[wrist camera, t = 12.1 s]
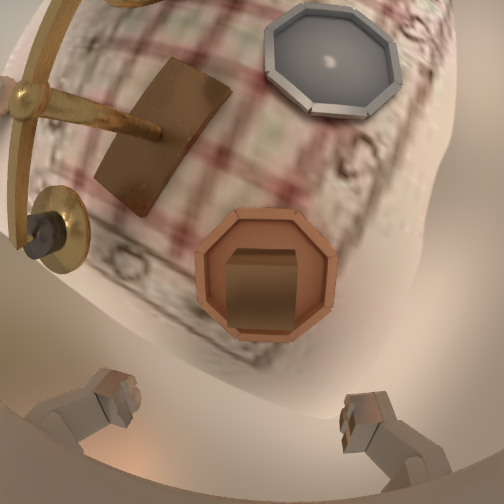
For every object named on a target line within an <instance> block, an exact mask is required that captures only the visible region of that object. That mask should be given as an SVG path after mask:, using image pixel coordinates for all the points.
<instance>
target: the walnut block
mask: <svg viewBox="0 0 504 504" xmlns="http://www.w3.org/2000/svg"><path fill="white" fill-rule="evenodd" d="M297 275H298V264H297V257H296V251H295V249H258V248H237V249H236V250H235V251H234V253H233V254H232V255H231V257H230V258H229V259H228V261H227V262H226V264H225V281H226V308H227V328H242V329H259V330H284V331H294V323H295V309H296V293H297Z"/></svg>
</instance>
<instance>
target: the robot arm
mask: <svg viewBox="0 0 504 504" xmlns="http://www.w3.org/2000/svg"><path fill="white" fill-rule="evenodd" d="M136 383H137V381H136V378H135V376H133V375H130V374H126V373H123V372H119V371H116V370H112V369H108V368H105V367H103V368H100V369H99V371H98V372H97V373H96V374H95V375H94V376H93V377H92V378H91V380H90V381H89V382H88V383H87V384H86V385H85V386H84V387H83V388H77V389H75V390H72V391H69V392H67V393H64V394H61V395H58V396H55V397H52V398H49V399H46V400H43V401H40V402H38V403H37V404H36V405H35V406H34V407H33V408H32V409H31V411H29V413H28V414H27V415H26V416H25V417H24V418H22V417H21V416H19V415H18V414H16V413H15V412H14V411H12V410H11V409H10V408H8V407H7V406H6V405H5V404H3V403H2V402H1V401H0V504H504V449H502V450H500V451H499V452H497V453H495V454H493V455H491V456H489V457H487V458H485V459H483V460H481V461H479V462H476V463H474V464H472V465H470V466H468V467H465V468H463V469H460V470H458V471H455V472H453V473H452V470H451V467H450V465H449V462H448V460H447V457H446V455H445V452H444V450H443V448H442V447H440V446H439V445H437V444H435V443H434V442H432V441H431V440H429V439H428V438H426V437H425V436H423V435H422V434H420V433H419V432H418V431H416V430H414V429H413V428H412V427H410V426H409V425H407V424H406V423H404V422H403V421H401V420H397V418H396V416H395V413H394V410H393V408H392V405H391V403H390V400H389V397H388V395H387V393H386V391H379V392H370V393H359V394H347V395H346V397H345V400H344V404H345V407H344V408H343V409H342V410H341V414H340V421H339V423H340V432H342V433H343V434H344V435H343V438H342V446H343V453H357V452H365V453H366V454H367V455H368V456H369V457H370V458H371V460H372V461H373V462H374V463H375V464H376V465H377V466H378V467H379V468H380V469H381V470H382V471H383V472H384V473H385V474H386V475H387V476H388V477H389V478H390V479H391V480H390V482H389V483H388V484H387V485H386V486H385V487H384V489H383V490H382V491H381V493H380V494H375V495H369V496H363V497H356V498H348V499H339V500H329V501H312V502H271V501H254V500H244V499H235V498H228V497H221V496H214V495H208V494H202V493H198V492H193V491H189V490H184V489H180V488H176V487H172V486H168V485H164V484H161V483H157V482H154V481H151V480H148V479H144V478H141V477H138V476H136V475H133V474H130V473H127V472H125V471H122V470H119V469H117V468H114V467H112V466H109V465H107V464H105V463H102V462H100V461H97V460H96V459H93V458H91V457H89V456H87V455H85V454H83V453H84V451H83V449H82V448H81V446H80V445H79V444H78V442H80V441H81V440H83V439H85V438H87V437H88V436H90V435H92V434H94V433H95V432H97V431H99V430H100V429H102V428H104V427H106V426H107V425H109V423H111V424H114V425H117V426H120V427H123V428H127V427H128V425H129V424H130V422H131V420H132V419H133V416H132V413H133V412H136V411H137V410H138V408H139V407H140V404H141V393H140V390H139V389H138V388H137V387H136V386H135V385H136Z"/></svg>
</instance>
